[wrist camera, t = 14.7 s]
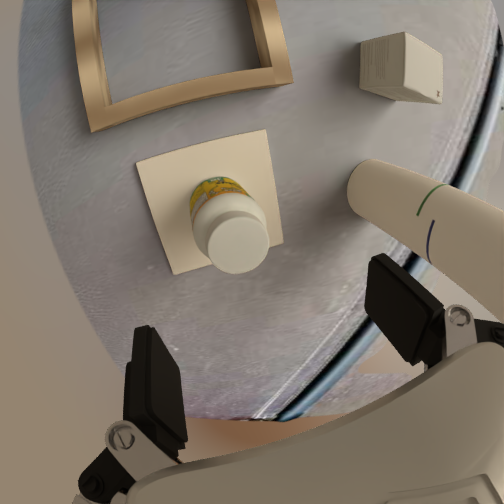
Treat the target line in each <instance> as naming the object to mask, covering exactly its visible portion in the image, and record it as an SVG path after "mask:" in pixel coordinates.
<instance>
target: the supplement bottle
mask: <svg viewBox="0 0 504 504" xmlns="http://www.w3.org/2000/svg"><path fill="white" fill-rule="evenodd" d="M189 210H190V217H191V223H192V231H193V236H194V240H195V242H196V245H197V247H198V248H199V250H200V251H201V252H202V253H203V254H204V255H205V256H206V257H208V258H209V259H210V260H211V262H212V263H213V265H214V266H215V267H216V268H218V269H219V270H221V271H223V272H226V273H229V274H241V273H245V272H248V271H251V270H252V269H254V268H256V267H257V266H258V265H259V264H260V263H261V262H262V261H263V260H264V258H265V257H266V255H267V253H268V249H269V236H268V233H267V230H266V229H267V224H266V218H265V215H264V212H263V210H262V209H261V207H260V206H259V205H258V203H257V202H256V201H255V200H254V199H253V198H252V197H251V196H250V195H249V194H248V193H247V192H246V191H245V190H244V189H243V188H242V186H241V185H240V184H239V183H237V182H236V181H235V180H233V179H231V178H228V177H224V176H216V177H211V178H208V179H205V180H203V181H202V182H200V183H199V184H198V185H197V186H196V187H195V189H194V190H193V192H192V194H191V197H190V202H189Z"/></svg>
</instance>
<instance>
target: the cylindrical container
mask: <svg viewBox="0 0 504 504" xmlns="http://www.w3.org/2000/svg"><path fill="white" fill-rule="evenodd" d="M347 198H348V202H349V205H350V207H351V208H352V210H353V211H354V212H355V213H357V214H358V215H360V216H361V217H363V218H364V219H366V220H368V221H369V222H371V223H372V224H374V225H375V226H377V227H378V228H380V229H381V230H383V231H385V232H386V233H388V234H389V235H391V236H392V237H393V238H395V239H396V240H398V241H399V242H401V243H402V244H404V245H405V246H407V247H408V248H409V249H411V250H412V251H414V252H415V253H416V254H418V255H419V256H421V257H422V258H423V259H425V260H426V261H427V262H429V263H430V264H431V265H433V266H434V267H436V268H437V269H438V270H439V271H441V272H442V273H443V274H445V275H446V276H447V277H449V278H450V279H451V280H452V281H454V282H455V283H456V284H457V285H459V286H460V287H461V288H463V289H464V290H465V291H466V292H467V293H468V294H470V295H471V296H472V297H473V298H474V299H476V300H477V301H478V302H479V303H480V304H482V305H483V306H484V307H485V308H486V309H487V310H488V311H490V312H491V313H492V314H493V315H494V316H495V317H496V318H497V319H498V320H499V321H500V322H502V323H503V324H504V211H502V210H500V209H498V208H496V207H494V206H493V205H491V204H489V203H487V202H485V201H483V200H481V199H478V198H476V197H474V196H472V195H470V194H468V193H465V192H463V191H461V190H459V189H456V188H454V187H452V186H449V185H447V184H445V183H442V182H440V181H437V180H435V179H432V178H429V177H427V176H424V175H421V174H419V173H416V172H413V171H410V170H408V169H405V168H402V167H399V166H396V165H393V164H390V163H386V162H383V161H380V160H377V159H369V160H366V161H364V162H362V163H360V164H359V165H358V166H357V167H356V168H355V169H354V171H353V172H352V174H351V176H350V178H349V181H348V185H347Z"/></svg>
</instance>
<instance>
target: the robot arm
mask: <svg viewBox="0 0 504 504" xmlns="http://www.w3.org/2000/svg"><path fill="white" fill-rule="evenodd" d="M443 306H444V305H443V304H442V303H441V302H440V301H439V300H437V298H435V297H434V296H433V295H432V294H431V293H430V292H429V291H428V290H427V289H426V288H424V287H423V286H422V285H421V284H420V283H419V282H418V281H417V280H416V279H414V278H413V277H412V276H411V275H410V274H409V273H407V272H406V271H405V270H404V269H403V268H402V267H400V266H399V265H398V264H397V263H396V262H395V261H393V260H392V259H391V258H390V257H389V256H387V255H386V254H385V253H381V254H379V255H376V256H373V257H372V258H371V261H369V264H368V276H367V287H366V296H365V305H364V307H365V311H366V313H367V314H368V315H369V316H370V318H371V319H372V320H373V321H374V323H375V324H376V325H377V326H378V327H379V329H380V330H381V331H382V332H383V334H384V335H385V336H386V337H387V339H388V340H389V341H390V342H391V344H392V345H393V346H394V347H395V349H396V350H397V351H398V353H399V354H400V355H401V356H402V358H403V359H404V360H405V361H406V362H409V363H410V364H411V365H412V366H414V365H415V364H417V363H419V362H420V361H421V360H422V361H423V362H424V373H422V374H421V375H419V376H418V377H416V378H414V379H413V380H411V381H409V382H408V383H406V384H404V385H403V386H401V387H399V388H397V389H396V390H394V391H392V392H390V393H389V394H387V395H385V396H383V397H381V398H379V399H377V400H375V401H373V402H372V403H370V404H368V405H366V406H364V407H362V408H359V409H357V410H355V411H353V412H351V413H349V414H347V415H345V416H342V417H340V418H338V419H335V420H333V421H331V422H328V423H326V424H324V425H321V426H318V427H316V428H313V429H310V430H308V431H305V432H302V433H300V434H297V435H294V436H291V437H288V438H285V439H282V440H279V441H276V442H272V443H269V444H266V445H262V446H258V447H255V448H251V449H247V450H243V451H239V452H235V453H231V454H226V455H222V456H217V457H212V458H207V459H202V460H197V461H192V462H187V463H183V462H182V461H181V460H180V459H179V458H177V457H178V450H180V449H185V443H184V442H187V441H188V436H187V429H186V421H185V414H184V405H183V396H182V387H181V376H180V370H179V367H178V365H177V364H176V362H175V361H174V359H173V358H172V356H171V354H170V353H169V351H168V349H167V348H166V346H165V344H164V343H163V341H162V339H161V338H160V336H159V334H158V333H157V331H156V329H155V328H154V327H152V328H151V327H150V326H149V325H145V326H141V327H137V328H135V330H134V338H133V348H132V359H131V362H128V363H127V365H126V373H125V387H124V406H123V420H121V421H118V422H115V423H113V424H112V425H111V426H110V427H109V428H108V429H107V432H106V435H105V442H106V446H107V447H106V448H105V449H104V450H103V451H102V453H101V454H100V455H99V456H98V457H97V458H96V459H95V460H94V461H93V462H92V463H91V464H90V465H89V466H88V467H87V468H86V469H85V470H84V471H83V472H82V474H81V475H80V477H79V480H78V486H79V490H80V495H77V494H76V496H75V498H74V501H73V502H72V504H504V324H503V323H500V322H493V321H486V320H480V319H474V318H473V315H472V313H471V312H470V310H469V309H467V308H466V307H464V306H462V305H451V306H449V307H448V308H447V309H446V310H445V309H444V308H443Z"/></svg>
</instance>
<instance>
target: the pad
mask: <svg viewBox="0 0 504 504" xmlns="http://www.w3.org/2000/svg"><path fill="white" fill-rule="evenodd" d="M136 165H137V168H138V172H139V175H140V179H141V182H142V185H143V188H144V192H145V195H146V198H147V201H148V204H149V207H150V210H151V213H152V216H153V219H154V222H155V225H156V228H157V231H158V233H159V236H160V239H161V242H162V245H163V247H164V250H165V253H166V255H167V258H168V261H169V263H170V266H171V268H172V271H173V274H174V275H176V274H180V273H183V272H187V271H190V270H193V269H197V268H200V267H204V266H207V265H211V264H213V263H212V262H211V260H210V259H209V258H208V257H206V256H205V255H204V254H203V253H202V252H201V251H200V250H199V248H198V247H197V245H196V242H195V240H194V236H193V231H192V223H191V217H190V210H189V202H190V197H191V194H192V192H193V190H194V189H195V187H196V186H197V185H198V184H199V183H200V182H202V181H203V180H205V179H208V178H211V177H216V176H224V177H228V178H231V179H233V180H235V181H236V182H237V183H239V184H240V185H241V186H242V188H243V189H244V190H245V191H246V192H247V193H248V194H249V195H250V196H251V197H252V198H253V199H254V200H255V201H256V202H257V203H258V205H259V206H260V207H261V209H262V210H263V212H264V215H265V218H266V224H267V229H266V230H267V233H268V236H269V247H273V246H276V245H280V244H283V243H284V241H283V234H282V227H281V220H280V213H279V207H278V201H277V194H276V188H275V182H274V176H273V170H272V164H271V158H270V152H269V146H268V141H267V135H266V130H265V129H263V130H257V131H252V132H247V133H242V134H237V135H233V136H228V137H224V138H220V139H215V140H211V141H207V142H203V143H199V144H195V145H192V146H188V147H184V148H181V149H177V150H174V151H170V152H167V153H164V154H160V155H157V156H154V157H151V158H148V159H145V160H142V161H139V162H137V163H136Z"/></svg>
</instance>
